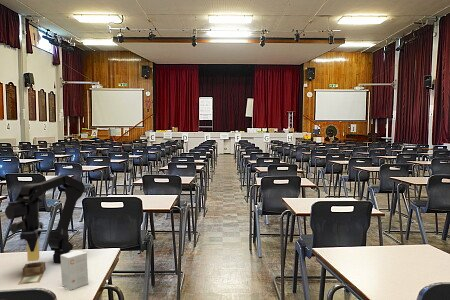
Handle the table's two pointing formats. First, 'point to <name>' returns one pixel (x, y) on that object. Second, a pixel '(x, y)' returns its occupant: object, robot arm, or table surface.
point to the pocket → (34, 269)
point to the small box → (74, 269)
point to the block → (35, 254)
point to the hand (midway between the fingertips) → (33, 250)
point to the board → (30, 279)
